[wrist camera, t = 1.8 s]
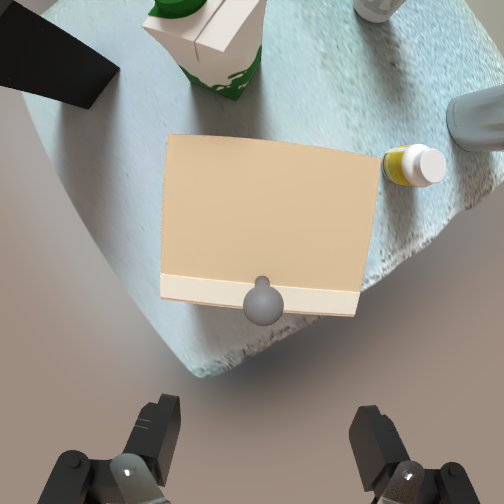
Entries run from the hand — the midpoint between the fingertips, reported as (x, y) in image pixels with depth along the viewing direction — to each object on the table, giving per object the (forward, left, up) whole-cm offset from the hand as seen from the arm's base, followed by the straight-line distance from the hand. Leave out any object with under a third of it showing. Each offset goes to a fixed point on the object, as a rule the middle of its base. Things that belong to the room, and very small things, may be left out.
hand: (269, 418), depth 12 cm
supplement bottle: (-18, -14, -30) cm, 38 cm away
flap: (0, -5, -18) cm, 19 cm away
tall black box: (+28, -24, -30) cm, 48 cm away
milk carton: (+7, -24, -30) cm, 39 cm away
